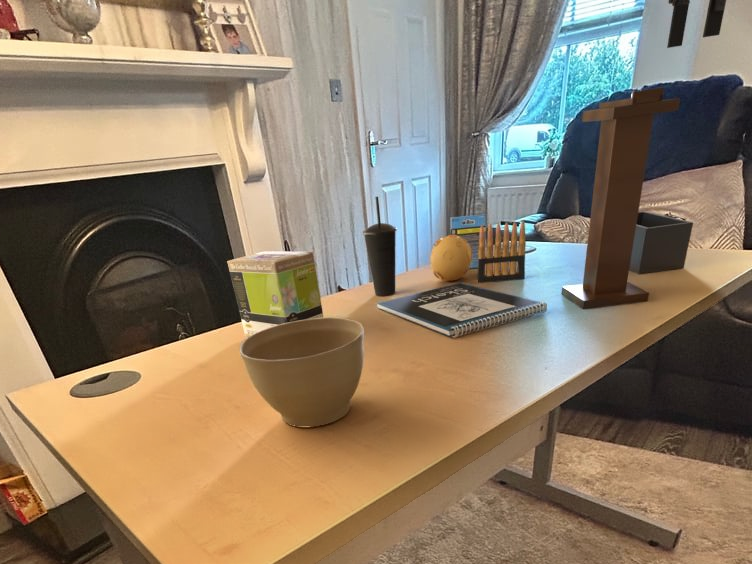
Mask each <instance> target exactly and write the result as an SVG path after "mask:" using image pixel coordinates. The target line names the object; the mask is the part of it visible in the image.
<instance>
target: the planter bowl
mask: <svg viewBox="0 0 752 564" xmlns="http://www.w3.org/2000/svg"><path fill="white" fill-rule="evenodd" d="M364 338H365V329H364V326H363V325H362V323H360V322H358V321H357V320H355V319H351V318H346V317H345V318H343V317H330V316H329V317H324V318H313V319H305V320H299V321H293V322H288V323H284V324H280V325H276V326H273V327H270V328H267V329H264V330H262V331H259V332H257V333H255V334H253V335H251V336H247V337H246V338H245V339H244V340H243V341H242V342H241V343H240V345H239V347H238V351H239V355H240V357H241V359H242V361H243V363H244V365H245V369H246V371H247V375H248V376H249V378H250V380H251V383H252V384H253V386H254V388H255V389H256V391H257V392H258V393H259V395H260V396H261V397H262V399H263V400H264V401H265V402H266V403H267V404H268V405H269V406H270V407H271V408H272V409H273V410H274V411H276V412H277V413H278V414H280V416H281V418H282V420H283V421H284V423H286V422H287V423H289V424H291V425H295V426H310V427H309V428H312V427H311V426H317V427H319V426H318V425H322V426H325V425H324V424H326V425H329V424H332V423H334V422H336V421H339V420H340V419H341V418H343V417H344V416H346V415H347V414H348V412H349V411H350V408H351V401H352V399H353V397H354V395H355V394H356V391H357V388H358V387H359V383H360V381H361V377H362V374H363V373H362V372H363V367H364V362H365V361H364V358H365V356H364V355H365V350H364V349H365V347H364ZM287 423H286V424H287ZM328 423H329V424H328ZM289 424H288V425H289ZM291 425H290V426H291ZM295 426H294V427H295Z"/></svg>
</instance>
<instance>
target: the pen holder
mask: <svg viewBox="0 0 752 564" xmlns="http://www.w3.org/2000/svg"><path fill="white" fill-rule="evenodd" d="M693 225H694V222H693V221H689V220H686V219H685V220H684V219H682V218H681V219H680V218H677V217H671V216H668V215H663V214H658V213H654V212H651V211H645V210H643V211H638V218H637V224H636V230H635V236H634V243H633V249H632V255H631V262H630V268H629V271H631V272H633V273H635V274H638V275H643V274H649V273H650V274H651V273H658V272H665V271H666V272H667V271H673V270H680V269H681V270H682V269H685V263H686V260H687V254H688V250H689V245H690V241H691V236H692V230H693Z"/></svg>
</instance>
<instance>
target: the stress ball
mask: <svg viewBox="0 0 752 564" xmlns="http://www.w3.org/2000/svg"><path fill="white" fill-rule="evenodd" d="M429 261H430V266H431V269H432V272H433V273H432V274H433V275H434V276H435V277H436V278H437V279H438V280H439V281H447V282H454V281H456V280H459V279H461V278H462V277H463V276H465V275H466V273H468V271H469V267H470V265H471V261H472V250H471V248H470V246H469V244H468V242H467V241H466V240H465V239H463V238H461V237H459V236H457V235H450V234H448V235H446V236H444V237H442V238H438V239H437V240H436V242H435V243H434V244H433V247H432V250H431V253H430V260H429Z"/></svg>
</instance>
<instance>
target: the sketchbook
mask: <svg viewBox="0 0 752 564" xmlns="http://www.w3.org/2000/svg"><path fill="white" fill-rule="evenodd" d="M376 305H377V309H379V310H382V311H384V312H387V313H389V314H391V315H394V316H397V317H399V318H402V319H404V320H407V321H410V322H412V323H414V324H417V325H419V326H421V327H425V328H427V329H430V330H432V331H435V332H437V333H440V334H442V335H444V336H447V337H452V338H453V339H455V338H458V337H462V336H465V335H470V334H473V333H474V332H475V333H477V332H479V331H482V330H486V329H490V328H494V327H498V326H502V325H505V324H508V323H513V322H516V321H520V320H523V319H526V318H527V319H528V318H530V317H534V316H536V315H541V314H544V313H546V312H547V310H548V303H546V302H543V301H538V300H533V299H529V298H525V297H521V296H517V295H513V294H509V293H504V292H501V291H496V290H492V289H488V288H484V287H480V286H475V285H472V284H468V283H463V282H457V283H453V284H449V285H445V286H442V287H436V288H432V289H429V290H425V291H421V292H416V293H411V294H408V295H404V296H399V297H396V298H391V299H387V300H384V301H379V302H377V303H376Z"/></svg>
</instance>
